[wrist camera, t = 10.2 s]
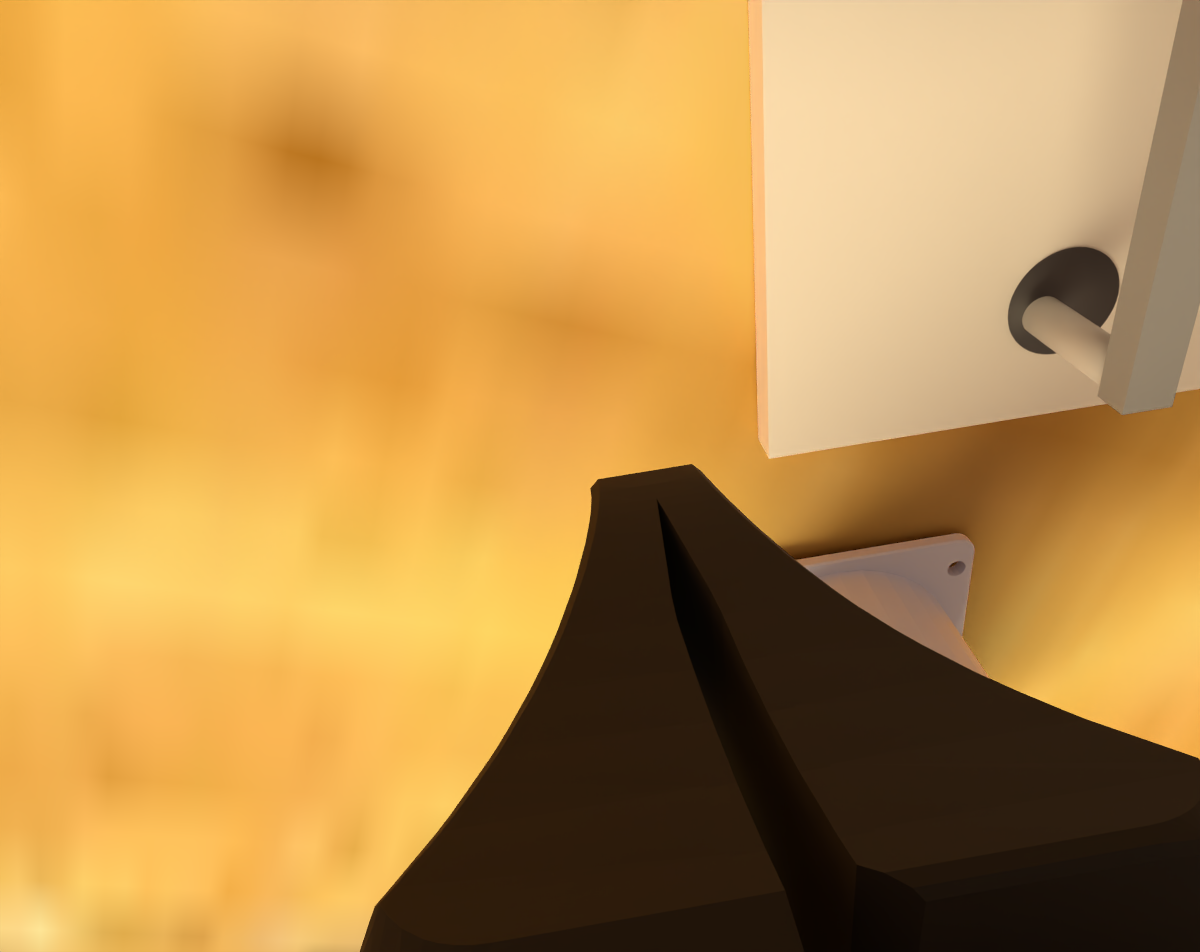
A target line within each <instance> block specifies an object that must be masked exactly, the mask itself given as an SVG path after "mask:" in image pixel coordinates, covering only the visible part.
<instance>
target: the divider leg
mask: <svg viewBox="0 0 1200 952" xmlns="http://www.w3.org/2000/svg"><path fill="white" fill-rule="evenodd" d="M1199 305H1200V0H1183V1H1182V5H1181V10H1180V15H1179V19H1178V24H1177V29H1176V33H1175V38H1174V43H1173V47H1172V52H1171V57H1170V61H1169V66H1168V70H1167V75H1166V80H1165V84H1164V89H1163V94H1162V98H1161V103H1160V108H1159V112H1158V117H1157V122H1156V126H1155V131H1154V136H1153V140H1152V145H1151V149H1150V154H1149V159H1148V163H1147V168H1146V173H1145V177H1144V182H1143V187H1142V191H1141V196H1140V201H1139V205H1138V210H1137V214H1136V219H1135V224H1134V228H1133V233H1132V238H1131V242H1130V247H1129V252H1128V256H1127V261H1126V266H1125V270H1124V275H1123V280H1122V284H1121V289H1120V293H1119V298H1118V303H1117V307H1116V312H1115V317H1114V321H1113V326H1112V331H1111V334H1109V333H1108V332H1106V331H1105V330H1103V329H1102V328H1100V327H1099V326H1097V325H1095V324H1094V323H1092V322H1091V321H1089V320H1088V319H1086V318H1085V317H1083V316H1082V315H1080V314H1079V313H1077V312H1076V311H1074V310H1073V309H1071V308H1070V307H1068V306H1067V305H1065V304H1063V303H1062V302H1060V301H1059V300H1057V299H1056V298H1054V297H1050V296H1045V297H1041V298H1038V299H1037V300H1035V301H1033V302H1032V303H1031V304H1030V305H1029V306H1028V307H1027V309H1026V310H1025V312H1024V314H1023V318H1022V323H1023V327H1024V328H1025V330H1026V331H1028V332H1029V333H1030V334H1032V335H1033V336H1034V337H1036V338H1037V339H1038V340H1040V341H1041V342H1042V343H1044V344H1045V345H1046V346H1048V347H1049V348H1050V349H1052V350H1053V351H1054V352H1056V353H1057V354H1058V355H1060V356H1061V357H1062V358H1064V359H1065V360H1066V361H1068V362H1069V363H1070V364H1072V365H1073V366H1074V367H1076V368H1077V369H1078V370H1080V371H1081V372H1082V373H1084V374H1085V375H1086V376H1088V377H1089V378H1090V379H1092V380H1093V381H1094V382H1096V383H1097V384H1098V385H1100V386H1099V391H1098V397H1099V398H1101V399H1102V400H1103V401H1104V402H1106V403H1107V404H1108V405H1110V406H1111V407H1112V408H1113V409H1115V410H1116V411H1117V412H1119V413H1120V414H1121V415H1125V414H1131V413H1137V412H1143V411H1150V410H1156V409H1162V408H1168V407H1172V406H1173V402H1174V398H1175V394H1176V391H1177V387H1178V383H1179V380H1180V376H1181V372H1182V368H1183V365H1184V361H1185V357H1186V354H1187V350H1188V346H1189V342H1190V339H1191V335H1192V331H1193V328H1194V324H1195V320H1196V316H1197V313H1198V309H1199Z"/></svg>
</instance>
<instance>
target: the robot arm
mask: <svg viewBox="0 0 1200 952" xmlns="http://www.w3.org/2000/svg"><path fill="white" fill-rule="evenodd" d="M591 496H592V502H591V515H590V523H589V528H588V533H587V539H586V543H585V547H584V551H583V555H582V559H581V562H580V566H579V570H578V574H577V577H576V581H575V584H574V587H573V590H572V593H571V595H570V598H569V601H568V604H567V606H566V609H565V612H564V615H563V617H562V620H561V623H560V626H559V628H558V631H557V633H556V636H555V638H554V640H553V643H552V645H551V647H550V650H549V652H548V654H547V656H546V659H545V661H544V663H543V665H542V667H541V669H540V671H539V673H538V675H537V677H536V679H535V681H534V683H533V685H532V687H531V689H530V691H529V693H528V695H527V697H526V698H525V700H524V702H523V704H522V706H521V707H520V709H519V711H518V713H517V715H516V716H515V718H514V720H513V722H512V723H511V725H510V727H509V729H508V731H507V732H506V734H505V735H504V737H503V739H502V740H501V742H500V744H499V745H498V747H497V748H496V750H495V752H494V753H493V755H492V756H491V758H490V759H489V761H488V762H487V764H486V765H485V766H484V768H483V769H482V771H481V772H480V774H479V775H478V776H477V778H476V779H475V781H474V782H473V784H472V785H471V786H470V788H469V789H468V791H467V792H466V794H465V795H464V796H463V798H462V799H461V801H460V802H459V804H458V805H457V806H456V808H455V809H454V811H453V812H452V814H451V815H450V816H449V818H448V819H447V820H446V822H445V823H444V824H443V825H442V827H441V828H440V829H439V831H438V832H437V833H436V834H435V836H434V837H433V838H432V839H431V840H430V842H429V843H428V844H427V845H426V846H425V848H424V849H423V850H422V851H421V852H420V854H419V855H418V856H417V857H416V858H415V860H414V861H413V862H412V863H411V864H410V866H409V867H408V868H407V869H406V870H405V872H404V873H403V874H402V875H401V876H400V877H399V879H398V880H397V881H396V882H395V883H394V885H393V886H392V887H391V888H390V889H389V891H388V892H387V893H386V894H385V895H384V896H383V898H382V899H381V900H380V901H379V902H378V903H377V905H376V906H375V908H374V911H373V913H372V916H371V919H370V922H369V925H368V928H367V931H366V934H365V937H364V940H363V943H362V947H361V950H360V952H1200V760H1199V759H1198V758H1196V757H1193V756H1190V755H1188V754H1185V753H1182V752H1179V751H1176V750H1173V749H1170V748H1167V747H1165V746H1162V745H1159V744H1156V743H1153V742H1150V741H1147V740H1144V739H1141V738H1139V737H1136V736H1133V735H1130V734H1127V733H1124V732H1121V731H1118V730H1115V729H1113V728H1110V727H1107V726H1104V725H1101V724H1098V723H1095V722H1092V721H1089V720H1087V719H1084V718H1081V717H1079V716H1076V715H1074V714H1071V713H1069V712H1066V711H1064V710H1061V709H1059V708H1057V707H1054V706H1052V705H1049V704H1047V703H1045V702H1042V701H1040V700H1038V699H1035V698H1033V697H1030V696H1028V695H1026V694H1023V693H1021V692H1018V691H1016V690H1014V689H1011V688H1009V687H1007V686H1005V685H1003V684H1000V683H998V682H996V681H994V680H992V679H990V678H989V676H988V675H987V673H986V672H985V671H984V669H983V668H982V666H981V665H980V663H979V662H978V660H977V659H976V657H975V656H974V654H973V653H972V651H971V650H970V648H969V647H968V645H967V644H966V642H965V641H964V639H963V638H962V635H963V628H964V622H965V615H966V608H967V601H968V594H969V587H970V580H971V573H972V566H973V560H974V553H975V549H974V545H973V544H972V542H971V541H970V540H969V539H968V537H967V536H966V535H963V534H961V533H955V534H949V535H943V536H936V537H930V538H924V539H918V540H912V541H906V542H900V543H894V544H888V545H882V546H876V547H870V548H864V549H858V550H852V551H846V552H840V553H834V554H828V555H822V556H816V557H810V558H804V559H798V560H795V559H794V558H793V557H791V556H790V555H789V554H788V553H787V552H785V551H784V550H783V549H782V548H781V547H780V546H778V545H777V544H776V543H775V542H774V541H773V540H772V539H770V538H769V537H768V536H767V535H766V534H765V533H763V532H762V531H761V530H760V529H759V528H758V527H757V526H756V525H754V524H753V523H752V522H751V521H750V520H749V519H748V518H747V517H746V516H745V515H744V514H743V513H742V512H741V511H740V510H739V509H737V508H736V507H735V506H734V505H733V504H732V503H731V502H730V501H729V500H728V499H727V498H726V497H725V496H724V495H723V494H722V493H721V492H720V491H719V490H718V489H717V488H716V487H715V486H714V484H713V483H712V482H711V481H710V480H709V479H708V478H707V477H706V476H705V475H704V474H703V473H702V472H701V471H700V470H699V469H698V468H696V467H695V466H694V465H692V464H690V465H684V466H678V467H671V468H665V469H659V470H653V471H647V472H641V473H634V474H628V475H622V476H616V477H610V478H604V479H598V480H597V481H596V483H595V484H594V485H593V486H592V487H591ZM957 561H958V562H957ZM954 562H957V563H956V564H955V565H954V566H952V567H949V566H950V565H951V564H952V563H954Z"/></svg>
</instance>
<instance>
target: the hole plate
mask: <svg viewBox="0 0 1200 952" xmlns="http://www.w3.org/2000/svg"><path fill="white" fill-rule="evenodd" d="M1182 1H1183V0H748V12H749V56H750V99H751V143H752V187H753V231H754V274H755V318H756V362H757V406H758V439H759V441H760V443H761V445H762V447H763V449H764V450H765V452H766V454H767V456H768V458H769V459H770V458H776V457H783V456H789V455H795V454H801V453H807V452H813V451H819V450H826V449H832V448H838V447H844V446H850V445H856V444H863V443H869V442H875V441H881V440H887V439H893V438H900V437H906V436H912V435H918V434H924V433H930V432H937V431H943V430H949V429H955V428H961V427H967V426H973V425H980V424H986V423H992V422H998V421H1004V420H1010V419H1017V418H1023V417H1029V416H1035V415H1041V414H1047V413H1054V412H1060V411H1066V410H1072V409H1078V408H1084V407H1091V406H1097V405H1103V404H1107V403H1106V402H1104V401H1103V400H1102V399H1101V398H1099V397H1098V391H1099V386H1100V385H1098V384H1097V383H1096V382H1094V381H1093V380H1092V379H1090V378H1089V377H1088V376H1086V375H1085V374H1084V373H1082V372H1081V371H1080V370H1078V369H1077V368H1076V367H1074V366H1073V365H1072V364H1070V363H1069V362H1068V361H1066V360H1065V359H1064V358H1062V357H1061V356H1060V355H1058V354H1057V353H1056V352H1054V351H1053V350H1052V349H1050V348H1049V347H1048V346H1046V345H1045V344H1044V343H1042V342H1041V341H1040V340H1038V339H1037V338H1036V337H1034V336H1033V335H1032V334H1030V333H1029V332H1028V331H1026V330H1025V328H1024V327H1023V323H1022V318H1023V314H1024V312H1025V310H1026V309H1027V307H1028V306H1029V305H1030V304H1031V303H1032V302H1033V301H1035V300H1037V299H1038V298H1041V297H1045V296H1050V297H1054V298H1056V299H1057V300H1059V301H1060V302H1062V303H1063V304H1065V305H1067V306H1068V307H1070V308H1071V309H1073V310H1074V311H1076V312H1077V313H1079V314H1080V315H1082V316H1083V317H1085V318H1086V319H1088V320H1089V321H1091V322H1092V323H1094V324H1095V325H1097V326H1099V327H1100V328H1102V329H1103V330H1105V331H1106V332H1108V333H1109V334H1111V331H1112V326H1113V321H1114V317H1115V312H1116V307H1117V303H1118V298H1119V293H1120V289H1121V284H1122V280H1123V275H1124V270H1125V266H1126V261H1127V256H1128V252H1129V247H1130V242H1131V238H1132V233H1133V228H1134V224H1135V219H1136V214H1137V210H1138V205H1139V201H1140V196H1141V191H1142V187H1143V182H1144V177H1145V173H1146V168H1147V163H1148V159H1149V154H1150V149H1151V145H1152V140H1153V136H1154V131H1155V126H1156V122H1157V117H1158V112H1159V108H1160V103H1161V98H1162V94H1163V89H1164V84H1165V80H1166V75H1167V70H1168V66H1169V61H1170V57H1171V52H1172V47H1173V43H1174V38H1175V33H1176V29H1177V24H1178V19H1179V15H1180V10H1181V5H1182ZM1195 389H1200V305H1199V309H1198V313H1197V316H1196V320H1195V324H1194V328H1193V331H1192V335H1191V339H1190V342H1189V346H1188V350H1187V354H1186V357H1185V361H1184V365H1183V368H1182V372H1181V376H1180V380H1179V383H1178V387H1177V391H1176V393H1177V392H1183V391H1189V390H1195Z"/></svg>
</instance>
